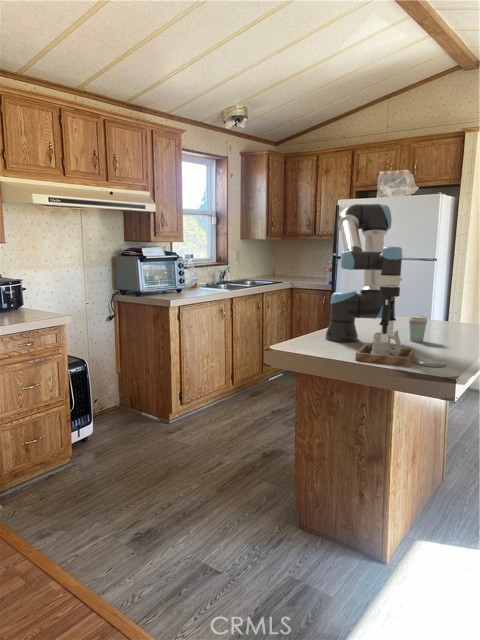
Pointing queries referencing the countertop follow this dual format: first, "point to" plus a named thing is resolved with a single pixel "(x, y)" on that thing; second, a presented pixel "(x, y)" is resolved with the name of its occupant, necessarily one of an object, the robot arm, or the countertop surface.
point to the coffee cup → (417, 327)
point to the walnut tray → (384, 359)
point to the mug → (385, 345)
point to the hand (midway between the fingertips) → (386, 339)
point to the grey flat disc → (430, 363)
